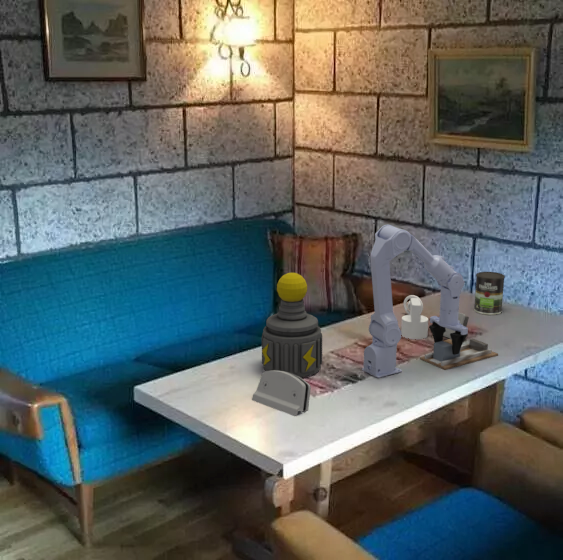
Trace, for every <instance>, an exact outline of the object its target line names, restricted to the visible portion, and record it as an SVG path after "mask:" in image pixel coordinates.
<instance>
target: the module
mask: <svg viewBox="0 0 563 560" xmlns="http://www.w3.org/2000/svg"><path fill="white" fill-rule="evenodd" d="M432 353H433V358H434V359H436V360H439V361H441V362H442V361H446V360H450V359H454V358H457V357H460V352H459V354H456V355H453V353H452V339H450V338H448V339H445V340H444V339H443V341H440V342H436V343H435V342H434V343H433V352H432Z"/></svg>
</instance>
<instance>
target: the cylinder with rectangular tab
mask: <svg viewBox="0 0 563 560" xmlns="http://www.w3.org/2000/svg"><path fill="white" fill-rule="evenodd" d="M419 298H420V297H419ZM419 298H410V299H409V301H410V310H409V311H410V315H409V314H406V315H403V316H401V327H400V330H401V333H402V336H401V337H403V338H404V337H405V338H404V339H408V338H409V339H408V340H415V339H416V340H423V338H424V339H427V338H428V334H429V318H428V317H427V316H426V315H421V314H422V313H421V303H420V299H421V298H420V299H419Z"/></svg>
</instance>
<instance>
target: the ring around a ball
mask: <svg viewBox="0 0 563 560" xmlns="http://www.w3.org/2000/svg"><path fill="white" fill-rule="evenodd" d="M411 298H419V299H420V303H421V314H422V313H423V311H424V304H423V301H422V300H421V298H420V297H419V296H417V295H414V294H410V295H408V296H406V297H405V298H404V300H403V305H402V307H403V310H404V311H405V313H406V314H407V315H410V299H411ZM408 300H409V301H408Z"/></svg>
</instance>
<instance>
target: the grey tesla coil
mask: <svg viewBox="0 0 563 560" xmlns="http://www.w3.org/2000/svg"><path fill="white" fill-rule="evenodd" d="M276 292H277V295H278V297H279V298H280V305H279V308H278V312H277V313H275V314H273V315H270V316H269V317H268V318H267V319H266V321H265V322H266V323H265V324H266V325H265V326H264V327H263V329H262V335H261V363H262V366H263V369H264V370H265V371H273V370H276V371H285V372H289V373H292V374H294V375H296V376H298V377H300V378H302V379H303V378H307V377H310V376H313V375H315V374H316V373H318V372H319V371H320V369H321V366H322V364H323V333H322V329H321V327H320V326H319V320H318V318H317V317H315V316H314V315H312V314H310V313H307V311H306V307H305V306H306V305H304V298H305V297H306V296H307V295H306V294H307V292H308V284H307V281H306V279H305V278H304V277H303V275H301V274H300V273H298V272H287V273H285V274H283V275H282V276H281V277H280V278H279V280H278V282H277V284H276Z"/></svg>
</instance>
